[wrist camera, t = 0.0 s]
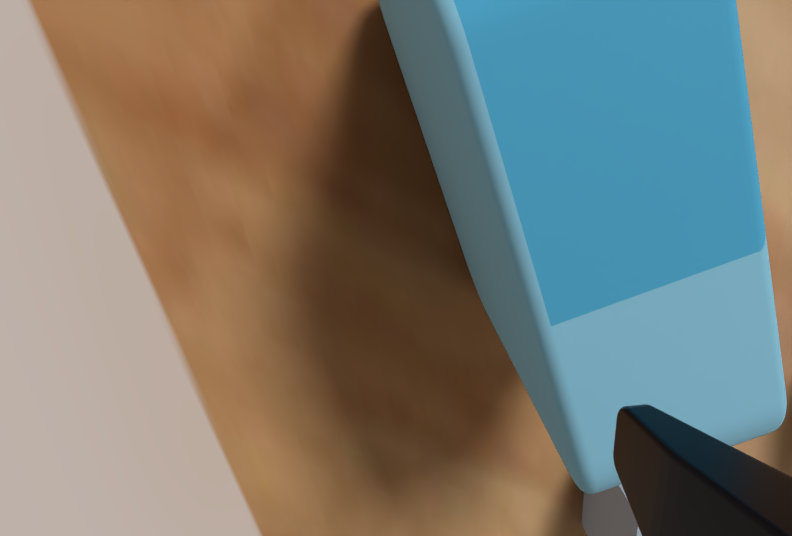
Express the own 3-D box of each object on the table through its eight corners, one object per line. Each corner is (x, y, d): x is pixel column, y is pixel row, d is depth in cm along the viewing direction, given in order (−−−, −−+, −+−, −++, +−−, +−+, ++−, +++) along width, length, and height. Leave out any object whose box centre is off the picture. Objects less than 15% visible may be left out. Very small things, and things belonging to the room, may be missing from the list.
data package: (588, 256, 25) (800, 460, 13) (477, 296, 25) (596, 531, 14) (504, -78, 20) (721, -183, 9) (368, -25, 20) (415, -64, 9)
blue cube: (684, 511, 30) (748, 602, 26) (580, 522, 30) (626, 617, 25) (698, 423, 28) (770, 504, 24) (587, 434, 28) (638, 518, 23)
